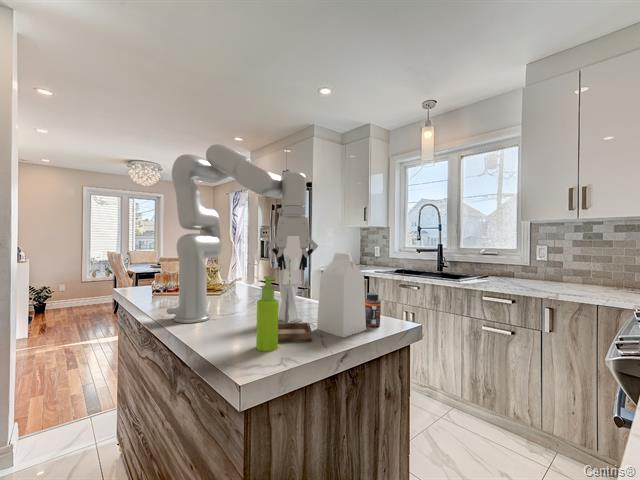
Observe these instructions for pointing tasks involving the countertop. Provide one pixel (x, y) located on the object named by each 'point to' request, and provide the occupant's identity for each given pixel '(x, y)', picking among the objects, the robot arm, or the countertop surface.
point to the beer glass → (292, 261)
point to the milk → (341, 297)
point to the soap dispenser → (267, 318)
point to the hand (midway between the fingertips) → (292, 269)
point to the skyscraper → (287, 301)
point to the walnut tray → (294, 332)
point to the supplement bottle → (372, 310)
